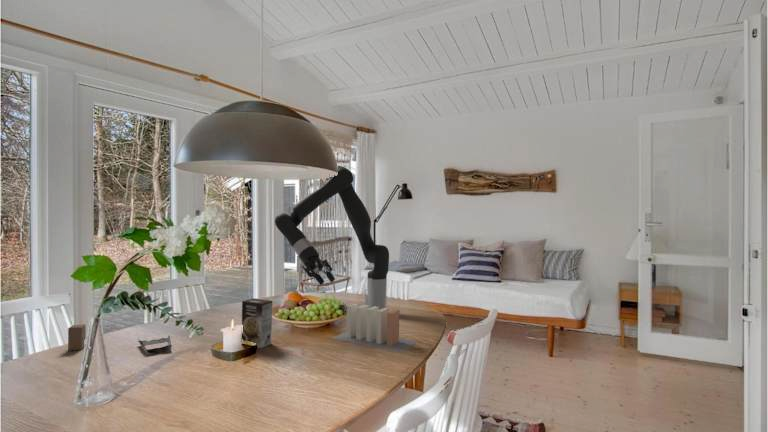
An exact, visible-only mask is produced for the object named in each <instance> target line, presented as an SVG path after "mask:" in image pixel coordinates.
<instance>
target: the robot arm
mask: <svg viewBox="0 0 768 432" xmlns="http://www.w3.org/2000/svg"><path fill="white" fill-rule="evenodd" d="M337 166H338V175H337V176H335V175H334V177H330V176H329V180H328V181H327V182H326V183H325V184H324V185H323V186H321V187H320V188H318V189H316V190H314V191H313V192H311V193H309V194H307V195H306V196H304V197H302V199H300V200H299V201H298V202H297V203H296V204H294V205H293V206H292V211H291V213H290V214H287V213H286V212H281V213H278V214H277V215H276V216H275V218H274V225H275V226H276V228H277V229H278V231H280V233H281V234H282V235H283V236H284V237H285V238H286V240H287V241H288V243H289V244H290V246H291V247H292V248H293V250H294V252H295V254H296V255H297V256H298V259H300V261H301V262H302V264H303V265H302V267H301V268H302V269H303V270H304V271H305V273H306V274H307V275H308V277H309V278H313V279H315V280H316V281H317V284H319V285H320V286H321V285H323V284H324V283H325V280H324V278H323V277H322V275H321V274H324V275H325V276H326V278H327V279H328V280H329V282H331V283H333V282H334V281H336V278H335V276H334V275H333V274H332V272H333V268H332V266H331V265H330V263H329V262H328V260H327V259H324V260H322V259H320V254H319V252H318V250H317V249H316V248H315V246H314V245H313V244H312V242H311V241H310V240H309V239H308V238H307V236H306V235H305V234H304V232H302V230H300V228H299V225H300V224H301V223H302V222H303V220H304V219H305V218H306V217H308V216H309V215H310V214H311V213H313V212H314V211H315V210H316V209H317V208H318V207H320V206H321V205H322V204H324V203H325V202H327V200H329V199H331V198H333V197H334V196H335V195H336V194H338V196H339V198H340V200H341V203H342V206H343V208H344V211H345V213H346V215H347V218H348V220H349V223H350V224H351V226H352V228H353V231H354V233H355V236H356V237H357V240H358V242H359V245H360V247H361V250H362V253H363V256H364V259H365V260H366V261H367V262H368V263H370V264H373V269H372V270H369V271H368V272H367V282H366V283H367V288H366V290H367V292H366V293H365V302H364V303H365V304H364V305H369V308H372V307H374V306H376V307H379V310H381V309H383V308H387V277H388V276H387V275H388V273H389V266H390V265H389V264H390V263H389V262H390V251H389V248H388V247H387V246H386V245H383V244H376V243H375V242H374V240H373V238H372V234H371V227H372V224H371V223H372V220H371V216H370V215H369V212H368V210H367V208H366V206H365V205H364V203H363V201H362V199H360V197H359V195H358V194H357V192H356V190H355V188H354V186H353V182H354V175H353V172H352V171H351V170H350V169H348V168H346V167H345V166H343V165H337Z"/></svg>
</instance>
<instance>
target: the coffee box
mask: <svg viewBox="0 0 768 432" xmlns="http://www.w3.org/2000/svg"><path fill="white" fill-rule="evenodd" d="M272 323H273V300H269V299H259V298H254V297H253V298H250V299H245V300H242V301H241V326H242V325H243V333H242V332H241V340H242V339H243V340H244V341H250V342H253V343H256V344H257V349H264V348H265V347H267V346H268V345H269V346H270V345H271V344H272V330H273V329H272V325H273V324H272Z"/></svg>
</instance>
